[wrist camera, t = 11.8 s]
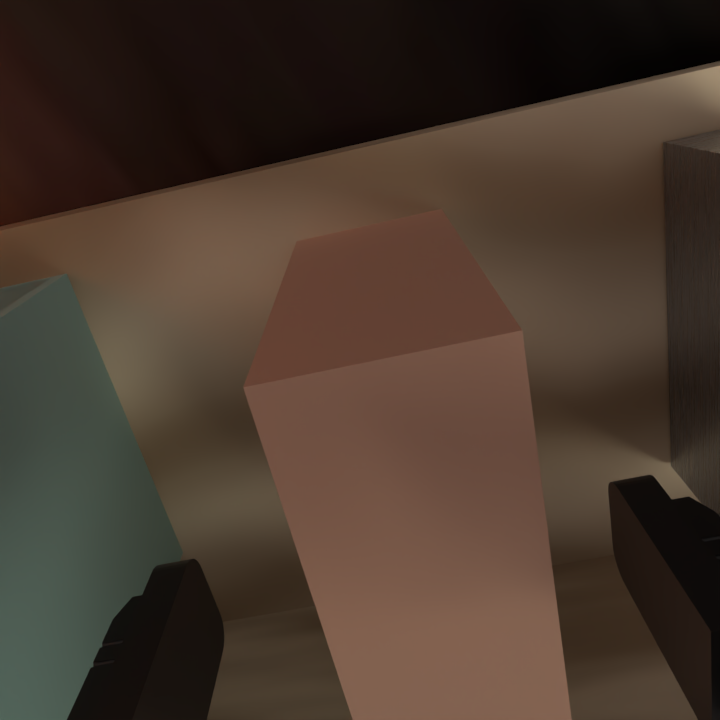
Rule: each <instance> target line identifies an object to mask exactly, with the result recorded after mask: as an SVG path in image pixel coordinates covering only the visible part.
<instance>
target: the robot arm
mask: <svg viewBox="0 0 720 720" xmlns="http://www.w3.org/2000/svg"><path fill="white" fill-rule="evenodd" d="M608 496H609V507H610V519H611V531H612V543H613V551H614V556H615V560H616V563H617V567H618V570H619V572H620V575H621V577H622V580H623V582H624V584H625V585H626V587H627V589H628V591H629V593H630V595H631V597H632V598H633V600H634V602H635V604H636V606H637V608H638V609H639V611H640V613H641V615H642V617H643V619H644V621H645V622H646V624H647V626H648V628H649V630H650V632H651V634H652V635H653V637H654V639H655V641H656V643H657V645H658V647H659V648H660V650H661V652H662V654H663V656H664V658H665V659H666V661H667V663H668V665H669V667H670V669H671V671H672V672H673V674H674V676H675V678H676V680H677V682H678V684H679V685H680V687H681V689H682V691H683V693H684V695H685V697H686V698H687V700H688V702H689V704H690V706H691V708H692V709H693V711H694V713H695V715H696V717H697V719H698V720H720V516H719V515H718V514H717V513H716V512H715V511H713V510H712V509H710V508H708V507H707V506H705V505H703V504H701V503H700V502H698V501H696V500H694V499H693V498H691V497H689V496H688V497H683V498H677V499H671V498H670V497H669V495H668V494H667V493H666V491H665V490H664V489H663V487H662V486H661V485H660V484H659V482H658V481H657V480H656V478H655V477H654V476H652V475H645V476H639V477H634V478H629V479H623V480H618V481H613V482H610V483H609V485H608ZM223 648H224V627H223V621H222V617H221V614H220V612H219V609H218V607H217V604H216V602H215V600H214V597H213V595H212V592H211V590H210V587H209V585H208V582H207V580H206V578H205V575H204V573H203V570H202V568H201V566H200V564H199V562H198V561H197V560H196V559H188V560H183V561H177V562H172V563H167V564H161V565H157V566H156V567H155V568H154V569H153V571H152V573H151V575H150V578H149V580H148V582H147V585H146V587H145V589H144V592H143V594H142V595H140V596H135V597H132V598H131V599H130V600H129V601H128V602H127V604H126V605H125V606H124V607H123V608H122V609H121V610H120V612H119V613H118V614H117V615H116V616H115V617H114V618H113V620H112V622H111V624H110V626H109V629H108V631H107V633H106V635H105V637H104V640H103V642H102V647H101V648H99V650H98V653H97V655H96V657H95V659H94V661H93V667H91V668H90V670H89V672H88V674H87V677H86V679H85V681H84V683H83V685H82V688H81V690H80V692H79V694H78V696H77V698H76V701H75V703H74V705H73V707H72V709H71V712H70V714H69V716H68V718H67V720H207V716H208V712H209V708H210V704H211V700H212V695H213V691H214V687H215V683H216V678H217V674H218V670H219V666H220V662H221V657H222V653H223Z"/></svg>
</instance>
